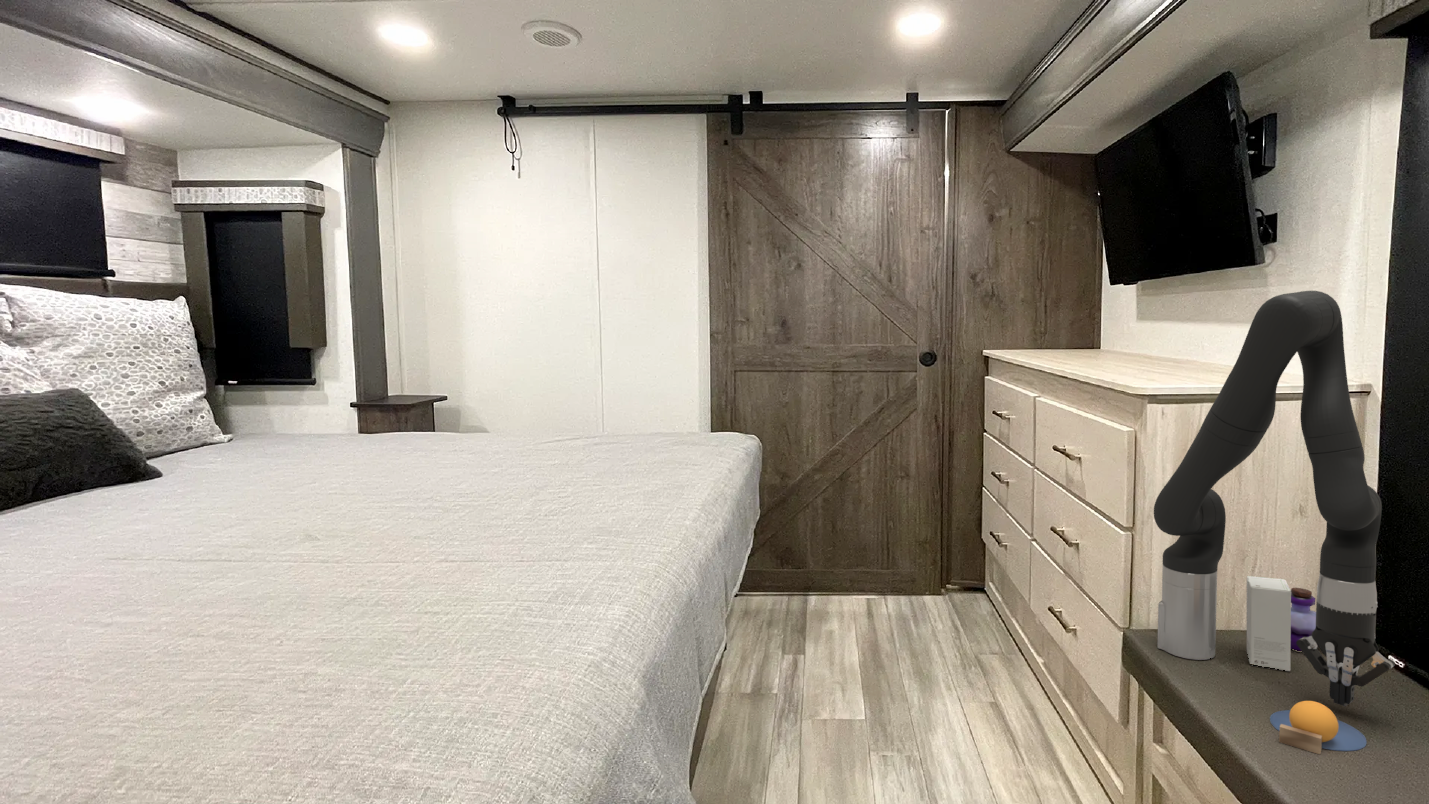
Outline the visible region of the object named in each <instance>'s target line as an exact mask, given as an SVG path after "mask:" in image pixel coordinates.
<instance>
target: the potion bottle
mask: <svg viewBox="0 0 1429 804" xmlns="http://www.w3.org/2000/svg"><path fill="white" fill-rule="evenodd" d="M1290 590H1291V649H1294V650H1297V651H1301V649H1300V648H1299V647H1298V645H1297V644H1296V642H1297V640H1299V639H1301V638H1303V637H1309V636H1312V632H1313V631H1314V630H1315V628H1316V610H1315V611H1314V610H1311V607H1312V606H1316V597H1314V596H1313V595H1312V594H1313V592H1312V591H1311V590H1309V589H1306V588H1301V587H1292V588H1290ZM1317 646H1318V645H1317ZM1318 647H1319V646H1318Z"/></svg>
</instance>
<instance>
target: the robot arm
mask: <svg viewBox="0 0 1429 804" xmlns="http://www.w3.org/2000/svg"><path fill="white" fill-rule="evenodd" d="M1341 312H1342V311H1341V308H1340V306H1339V304H1338V302H1337V301H1336V300H1335V299H1334V298H1333V297H1332V296H1331V295H1329V294H1328V293H1326V292H1323V291H1319V290H1302V291H1297V292H1296V291H1295V292H1289V293H1283V294H1278V295H1275V296H1273V297H1271V298H1270V299H1268V300H1266V301H1265V302H1264V303H1263V304H1262V305H1261V306H1260V307H1259V308H1258V310H1257V312H1256V313H1255V315H1254V317H1253V320H1252V321H1251V323H1250V327H1249V329H1248V332H1247V334H1246V337H1245V339H1244V342H1243V344H1242V347H1241V350H1240V352H1239V355H1238V357H1237V358H1236V361H1235V364H1234V365H1233V367H1232V369H1231V371H1230V373H1229V375H1228V376H1227V377H1226V380H1225V382H1224V384H1223V386H1222V388H1221V389H1220V391H1219V393H1218V395H1217V397H1216V398H1215V399H1214V402H1213V404H1212V405H1211V407H1210V408H1209V409H1208V412H1207V414H1206V416H1205V418H1204V420H1203V422H1202V424H1201V426H1200V428H1199V430H1198V432H1197V434H1196V436H1195V438H1194V440H1193V441H1192V443H1191V444H1190V447H1189V448H1188V449H1187V452H1186V454H1185V456H1184V457H1183V458H1182V460H1181V463H1180V464H1179V465H1178V467H1177V468H1176V470H1175V471H1174V473H1173V474H1172V476H1171V477H1170V478H1169V480H1168V481H1167V482H1166V484H1165V485H1164V486H1163V488H1162V489H1161V491H1160V492H1159V494H1158V496H1157V498H1156V499H1155V502H1154V506H1153V518H1154V521H1155V524H1156V526H1157V528H1158V529H1159V530H1160V531H1162V532H1163V533H1165V534H1167V535H1170V536H1175V537H1178V538H1177V539H1176V541H1175V542H1174V543H1173V544H1171V545H1170V546H1168V547H1167V548H1165V550H1163V552H1162V566H1161V567H1162V569H1161V570H1162V572H1161V578H1162V579H1161V581H1162V582H1161V600H1160V601H1159V602H1158V604H1157V605H1158V606H1157V649H1159V650H1163V651H1164V652H1166V653H1168V654H1170V655H1173V656H1175V657H1179V658H1183V659H1188V660H1194V661H1195V660H1196V661H1198V660H1199V661H1202V660H1204V661H1206V660H1210V658H1211V659H1213V658H1215V656H1216V646H1217V645H1216V644H1217V643H1216V635H1217V634H1216V633H1217V605H1218V604H1217V602H1218V599H1217V598H1218V565H1219V561H1221V559H1222V556H1223V552H1224V544H1225V535H1226V520H1227V519H1226V517H1227V515H1226V507H1225V504H1224V501H1223V499H1222V497H1221V496H1220V495H1219V493H1217V492H1216V490H1214V489H1212V488H1213V487H1214V486H1215V485H1216V484H1217V483H1218V482H1219V481H1220V480H1221V479H1223V478H1224V477H1225V476H1226V475H1227V474H1228V473H1230V472H1231V471H1233V470H1234V469H1236V467H1237V466H1239V465H1240V464H1241V463H1243V462H1244V461H1245V460H1246V459H1247V458H1248V457H1250V455H1251V454H1252V453H1253V452H1254V451H1255V450H1256V449H1257V447H1258V445H1260V443H1261V441H1262V439H1263V438H1264V436H1265V434H1266V433H1267V431H1268V429H1269V428H1270V426H1271V424H1272V422H1273V419H1274V417H1275V416H1274V415H1275V413H1276V403H1277V402H1276V399H1277V387H1278V384H1279V381H1280V379H1281V377H1282V375H1283V374H1284V371H1285V370H1286V369H1287V367H1288V365H1289V364H1290V362H1291V361H1292V360H1293V358H1294V356H1295V355H1296V354H1298V357H1299V360H1300V364H1301V369H1302V376H1303V377H1302V378H1303V379H1302V381H1303V383H1302V386H1303V387H1302V388H1303V389H1302V397H1301V402H1300V403H1301V404H1300V427H1301V431H1302V436H1303V439H1304V444H1305V446H1306V447H1305V448H1306V451H1307V453H1308V457H1309V460H1310V463H1311V467H1312V478H1313V479H1312V480H1313V486H1314V494H1315V501H1316V504H1317V508H1318V510H1319V513H1320V515H1321V516H1322V518H1323V519H1324V521H1325V522H1326V533H1325V539H1324V540H1323V542H1322V545H1321V548H1320V555H1319V556H1320V559H1319V574H1318V575H1319V576H1318V579H1317V580H1318V581H1317V585H1316V601H1315V607H1316V608H1315V612H1316V628H1315V630H1314V631H1313V632H1312V636H1309V637H1303V638H1301V639H1299V640H1297V642H1296V644H1297V645H1298V647H1299V648H1300V649H1301V651H1302V652H1303V653H1302V654H1303V655H1304V657H1306V660H1308V662H1309V663H1310V665H1311V666H1312V667H1313V669H1314V670H1315V671H1316V672H1317V674H1320V675H1323V676H1325V677H1326V678H1327V679H1328V680H1329V697H1330V699H1331V700H1333V704H1336V705H1339V706H1341V707H1346V706H1348V705H1350V704H1352V702H1353V701H1354V700H1355V686H1358V687H1360V688H1361V687H1364V686H1366V685H1368V684H1369V683H1371V682H1373V681H1374V680H1376V679H1377V678H1378V677H1380V676H1381V675H1383V674H1385V673H1386V672H1388V671H1389V670H1391V669H1392V668H1394V667H1395V666H1396V663H1395V662H1394V660H1392V659H1389V658H1388V659H1387V658H1386V657H1385V656H1383V655H1382V654H1381V653H1380V652H1379V646H1378V644H1377V643H1376V642H1377V641H1376V623H1377V621H1376V620H1377V608H1378V592H1377V585H1376V584H1377V583H1376V575H1377V573H1376V571H1377V542H1378V538H1379V532H1380V528H1381V520H1382V509H1383V508H1382V504H1383V503H1382V499H1381V497H1380V495H1379V494H1378V493H1377V491H1376V490H1375V489H1374V488H1373V487H1371V485H1370V486H1369V485H1368V481H1367V478H1366V475H1365V470H1364V464H1365V458H1366V457H1365V451H1364V446H1363V443H1362V440H1361V435H1360V433H1359V430H1358V429H1359V428H1358V425H1357V423H1356V422H1357V421H1356V419H1355V415H1354V410H1353V406H1352V402H1351V397H1350V396H1351V395H1350V390H1349V383H1348V375H1347V374H1348V373H1347V368H1346V367H1347V365H1346V364H1347V363H1346V356H1345V355H1346V354H1345V344H1344V342H1345V341H1344V327H1343V317H1342V313H1341ZM1317 645H1318V646H1317ZM1318 648H1319V649H1320V650H1319V649H1318ZM1320 651H1321V652H1320ZM1323 655H1324V656H1325V657H1326V658H1325V657H1324V656H1323ZM1371 658H1372V661H1371V666H1372V667H1373V668H1371V669H1370V670H1368V671H1367V672H1365V673H1363V674H1362V675H1359V674H1358V673H1359V672H1358V671H1359V670H1360V666H1361V665H1363V664H1364V663H1365V662H1367V661H1368V660H1369V659H1371Z"/></svg>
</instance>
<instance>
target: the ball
mask: <svg viewBox="0 0 1429 804" xmlns="http://www.w3.org/2000/svg"><path fill="white" fill-rule="evenodd" d="M1289 710H1290V714H1289V719H1290V723H1291V725H1292V727H1294V728H1297V729H1301V730H1304V731H1308V732H1311V733H1314V734H1318V735H1321V736H1322V742H1327V741H1329V740H1331V739H1333V738H1334V737H1335V736H1336V734H1337V732H1338V728H1339V726H1338V721H1337V720H1338V719H1337V716H1336V714H1334V712H1333V711H1332V710H1331V709H1330V708H1329V707H1328V706H1326V705H1324V704H1322V703H1321V702H1317V701H1315V700H1302V701H1299V702H1296V703H1295V704H1294V705H1292V707H1291V709H1289Z"/></svg>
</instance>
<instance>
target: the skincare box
mask: <svg viewBox="0 0 1429 804" xmlns="http://www.w3.org/2000/svg"><path fill="white" fill-rule="evenodd" d="M1291 605H1292V603H1291V588H1290V586H1289V584H1288V582H1287V580H1286V579H1285V578H1284V579H1282V578H1275V577H1273V578H1272V577H1262V576H1253V575H1247V576H1246V654H1248V655H1247V657H1248V658H1249V659H1248V658H1247V659H1248V662H1249V664H1254V665H1258V666H1262V667H1261V668H1264V667H1270V668H1275V669H1274V670H1277V669H1279V670H1278V671H1283V670H1285V672H1291V651H1292V650H1291ZM1258 666H1257V667H1258ZM1270 668H1269V669H1270Z"/></svg>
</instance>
